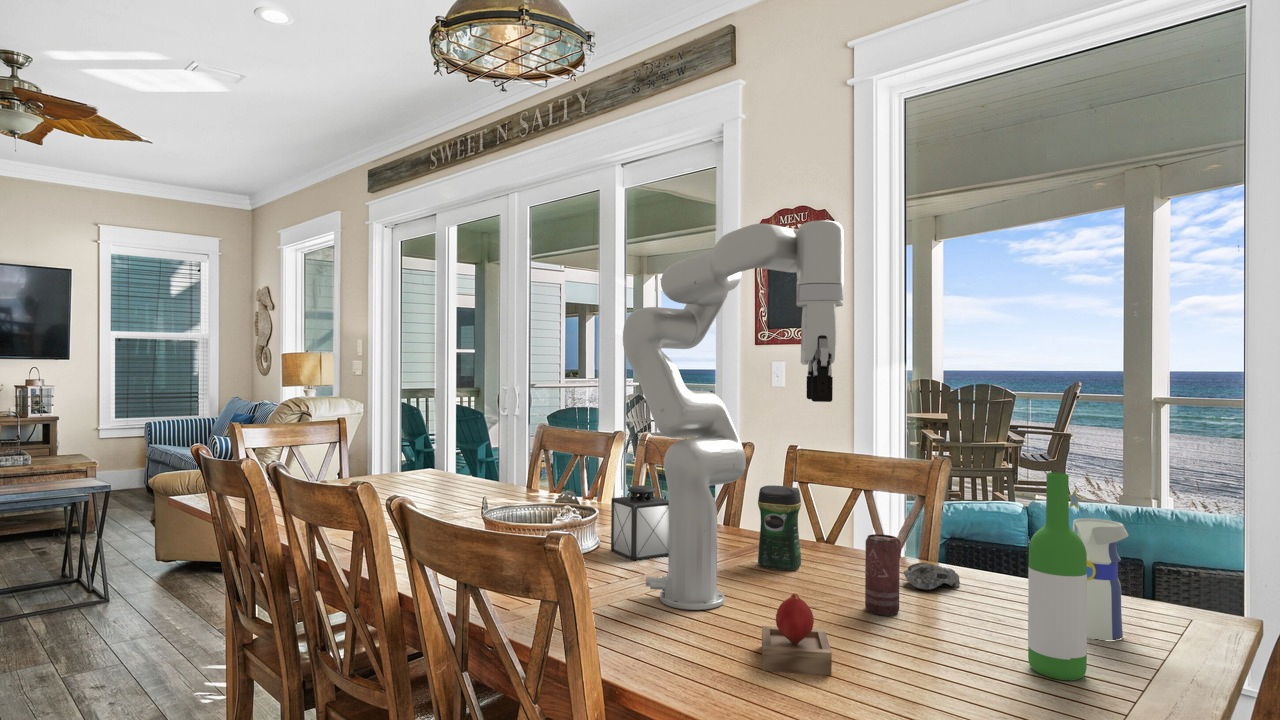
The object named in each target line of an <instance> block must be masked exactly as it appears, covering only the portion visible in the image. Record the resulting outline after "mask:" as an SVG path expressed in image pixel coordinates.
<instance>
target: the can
mask: <svg viewBox="0 0 1280 720" xmlns="http://www.w3.org/2000/svg"><path fill="white" fill-rule="evenodd" d="M901 556H902V541H901V540H900V538H898V537H896V536H894V535H888V534H881V533H879V534H878V533H877V534H876V533H875V534H869V535H867V537H866V539H865V560H864V561H865V571H864V572H865V573H864V574H865V575H864V576H865V578H864V579H865V582H864V583H865V584H864V586H865V588H864V589H865V591H864V593H865V594H864V595H865V597H864V598H865V599H864V601H865V603H864V606H865V609H866V611H867V612H868V613H870V614H872V615H876V616H881V617H882V616H883V617H892V616H896V615H898V612H900V585H901V584H900V578H901V576H900V573H901V572H900V567H901V565H900V562H901V560H900V559H901Z"/></svg>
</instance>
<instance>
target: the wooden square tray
mask: <svg viewBox="0 0 1280 720" xmlns="http://www.w3.org/2000/svg"><path fill="white" fill-rule="evenodd" d="M761 651H762V652H761V653H762V670H763V671H764V672H765V671H766V672H777V673H778V672H779V673H792V674H793V673H795V674H806V675H823V676H832V674H833V673H832V662H833V660H832V659H833V658H832V657H833V655H832V654H833V653H832V650H831V646H830V643H829V640H828V636H827V634H826V630H825V629H821V628H820V629H819V628H812V631H811V632H810V634H809V635H808V636H806V637H805V638H804V639H803V640H801V641H800V642H799V643H798V644H793V643H791V642H790V641H789V640H788V639H787V638H786V637H785V636H784V635H783V634H782V633H781V632H780V631H779V629H778V627H777V626H769V625H768V626H767V625H761Z"/></svg>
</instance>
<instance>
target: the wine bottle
mask: <svg viewBox="0 0 1280 720" xmlns="http://www.w3.org/2000/svg"><path fill="white" fill-rule="evenodd" d="M1069 480H1070V479H1069V475H1068V473H1065V472H1064V473H1063V472H1055V471H1054V472H1053V471H1052V472H1050V471H1049V472H1047V473H1046V487H1045V488H1046V493H1045V494H1046V497H1045V498H1046V500H1045V502H1046V503H1045V505H1046V506H1045V508H1046V510H1045V524H1044V525H1043V526H1042V527H1041V528H1040V529H1037V530H1036V532H1035V533H1034V534H1033V535H1032V537H1031V538H1030V541H1029V544H1028V576H1027V577H1028V579H1027V581H1028V583H1027V585H1028V586H1027V587H1028V589H1027V591H1028V595H1027V597H1028V600H1027V601H1028V602H1027V604H1028V605H1027V609H1028V610H1027V612H1028V613H1027V617H1028V618H1027V646H1028V647H1027V648H1028V653H1027V655H1028V664H1029V666H1030V667H1031V669H1032V670H1033V671H1035V673H1038V674H1039V675H1042V676H1044V677H1047V678H1049V679H1055V680H1060V681H1076V680H1078V681H1079V680H1080V679H1082V678H1083V677H1084V676H1085V675H1086V673H1087V665H1088V664H1087V662H1088V661H1087V660H1088V659H1087V655H1088V638H1087V553H1086V549H1085V546H1084V544H1083V542H1082V540H1081V538H1080V537H1079V536H1078V535H1077V532H1076V531H1075V532H1074V531H1073V528H1071V527H1070V521H1069V520H1070V515H1069V514H1070V503H1069V502H1070V500H1069V499H1070V498H1069V495H1070V491H1069V484H1070V483H1069Z"/></svg>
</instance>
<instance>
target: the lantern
mask: <svg viewBox="0 0 1280 720" xmlns="http://www.w3.org/2000/svg"><path fill="white" fill-rule="evenodd" d="M637 441H646V442H648V443H651V444H652V445H654V446H655V448H656V449H657V450H658V453H659V455H660V460H661V471H662V473H661V474H662V476H661V478H662V481H661V483H662V492H664V461H663V458H662V454H661V451H660V449H659V448H658V446H657V445H656V444H655V443H654V442H652V441H651V440H648V439H635V440H633V441H631V442H629V443H628V444H627V445H626V446H625V447H624V449H623V452H622V454H621V455H622V456H621V460H620V483H621V489H623V473H622V472H623V471H622V469H623V458H624V453H625V451H626V449H627V448H628V446H629V445H631V444H632V443H634V442H637ZM656 491H657V489H656V488H655V487H653V486H651V485H632V486H630V487H629V488H627V492H630V493H629V494H630V495H629V496H621V497H619V496H618V497H611V511H610V513H611V515H610V516H611V517H610V519H611V523H610V525H611V527H610V552H611V553H614V554H617V555H618V556H620V557H623V558H625V559H628V560H630V561H631V562H633V561H634V562H637V561H638V560H639V561H645V560H651V559H653V558H654V559H659V558H660V557H661V558H667V557H668V551H669V500H668V499H666V498H663V497H662V498H661V497H658V496H654V493H655V492H656Z"/></svg>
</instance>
